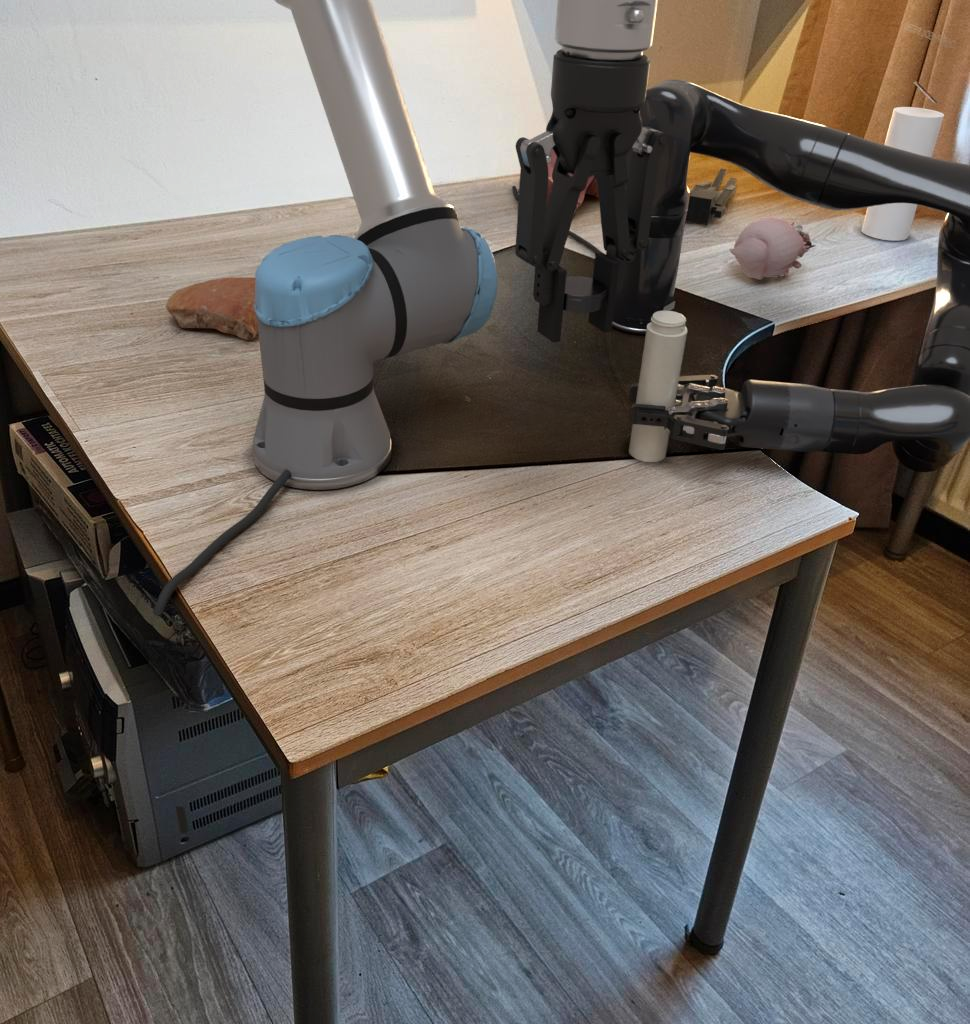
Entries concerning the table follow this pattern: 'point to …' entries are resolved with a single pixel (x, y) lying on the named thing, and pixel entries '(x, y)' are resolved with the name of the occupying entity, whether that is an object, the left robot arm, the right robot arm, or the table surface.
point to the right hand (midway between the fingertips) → (630, 403)
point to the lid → (584, 294)
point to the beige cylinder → (658, 381)
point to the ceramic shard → (217, 306)
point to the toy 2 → (770, 247)
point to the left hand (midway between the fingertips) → (574, 330)
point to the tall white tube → (913, 135)
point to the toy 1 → (709, 199)
